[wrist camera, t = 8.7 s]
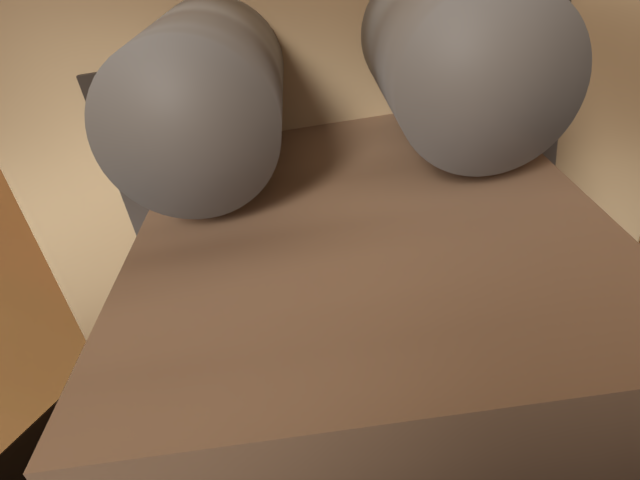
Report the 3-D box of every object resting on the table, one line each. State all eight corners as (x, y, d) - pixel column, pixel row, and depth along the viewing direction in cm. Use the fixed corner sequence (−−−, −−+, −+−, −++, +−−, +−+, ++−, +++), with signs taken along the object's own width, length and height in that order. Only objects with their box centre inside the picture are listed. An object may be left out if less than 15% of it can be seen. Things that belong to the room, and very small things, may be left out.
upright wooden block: (477, 398, 12) (615, 747, 7) (263, 428, 12) (245, 790, 7) (483, 99, 9) (776, 370, 3) (179, 146, 9) (22, 474, 4)
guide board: (564, 523, 16) (632, 671, 13) (216, 568, 17) (199, 724, 14) (679, -145, 8) (968, -191, 4) (-58, -20, 8) (-296, 21, 5)
